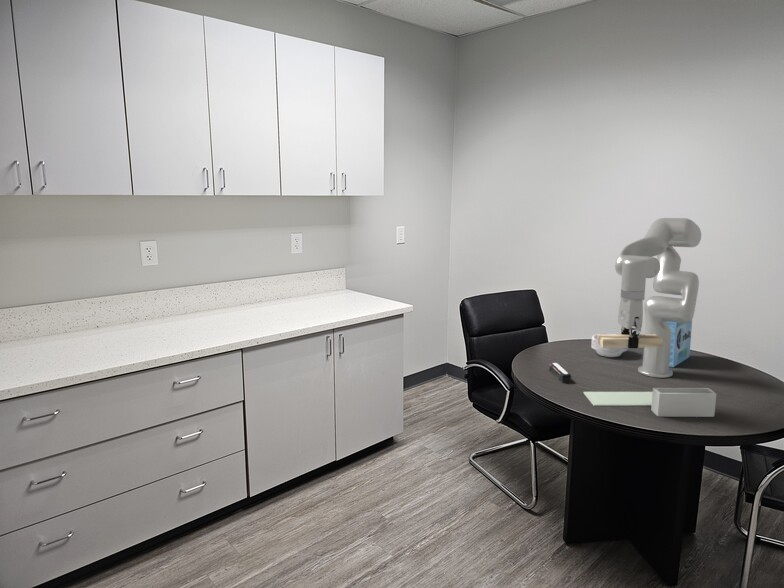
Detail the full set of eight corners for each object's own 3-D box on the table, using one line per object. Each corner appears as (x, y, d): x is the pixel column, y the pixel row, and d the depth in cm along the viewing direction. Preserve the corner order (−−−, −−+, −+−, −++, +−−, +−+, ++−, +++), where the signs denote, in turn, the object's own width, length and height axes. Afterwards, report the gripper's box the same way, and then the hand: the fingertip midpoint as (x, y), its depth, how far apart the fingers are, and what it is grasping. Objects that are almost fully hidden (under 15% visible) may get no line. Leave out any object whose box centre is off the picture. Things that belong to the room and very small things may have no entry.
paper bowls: (591, 358, 235) (592, 340, 233) (590, 348, 249) (591, 332, 248) (628, 360, 230) (630, 343, 229) (625, 350, 244) (626, 334, 243)
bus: (553, 388, 203) (553, 377, 202) (533, 366, 227) (533, 357, 226) (590, 386, 203) (590, 376, 202) (566, 365, 228) (566, 356, 227)
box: (651, 410, 179) (653, 387, 177) (706, 410, 178) (708, 387, 176) (657, 416, 174) (659, 393, 172) (714, 416, 173) (716, 393, 171)
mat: (583, 393, 195) (583, 391, 195) (655, 393, 194) (655, 391, 193) (593, 405, 183) (593, 404, 183) (670, 406, 182) (670, 404, 182)
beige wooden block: (597, 342, 188) (597, 334, 188) (654, 342, 187) (655, 334, 186) (602, 347, 182) (603, 339, 182) (662, 347, 181) (662, 339, 180)
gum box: (673, 367, 220) (678, 314, 216) (660, 365, 224) (664, 312, 219) (689, 357, 233) (694, 306, 229) (677, 354, 237) (681, 305, 232)
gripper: (612, 290, 190) (609, 338, 193) (631, 299, 173) (627, 352, 176) (633, 290, 189) (630, 338, 193) (654, 299, 172) (650, 352, 176)
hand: (629, 344), depth 185 cm, fingers closed on beige wooden block, 6 cm apart
